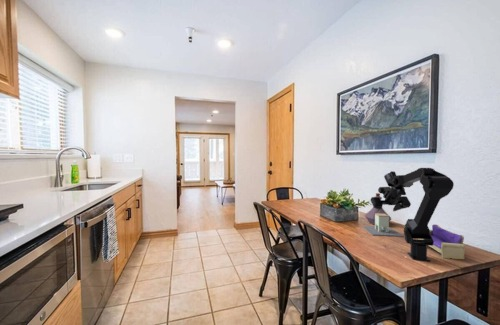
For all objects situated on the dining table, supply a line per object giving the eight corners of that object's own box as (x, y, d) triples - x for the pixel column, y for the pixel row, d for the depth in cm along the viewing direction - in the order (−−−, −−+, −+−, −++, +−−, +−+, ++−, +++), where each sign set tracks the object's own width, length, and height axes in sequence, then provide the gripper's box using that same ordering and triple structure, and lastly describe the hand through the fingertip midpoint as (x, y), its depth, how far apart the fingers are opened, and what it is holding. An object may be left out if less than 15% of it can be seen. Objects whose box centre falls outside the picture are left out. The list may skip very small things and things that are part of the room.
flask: (370, 218, 161) (370, 191, 161) (396, 223, 149) (396, 193, 148) (359, 222, 151) (359, 193, 151) (386, 228, 138) (386, 196, 138)
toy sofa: (415, 241, 117) (415, 222, 117) (434, 242, 115) (434, 223, 115) (442, 259, 96) (443, 235, 96) (466, 260, 95) (466, 236, 94)
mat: (403, 236, 123) (403, 235, 123) (373, 235, 125) (373, 234, 125) (389, 228, 139) (389, 227, 139) (362, 226, 141) (362, 225, 141)
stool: (388, 232, 129) (388, 215, 129) (378, 231, 130) (379, 215, 130) (384, 229, 135) (384, 213, 135) (374, 228, 135) (375, 213, 135)
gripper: (406, 181, 122) (395, 199, 133) (370, 182, 124) (363, 199, 134) (416, 197, 114) (404, 215, 125) (378, 198, 115) (370, 215, 126)
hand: (385, 210), depth 128 cm, fingers open, 9 cm apart
